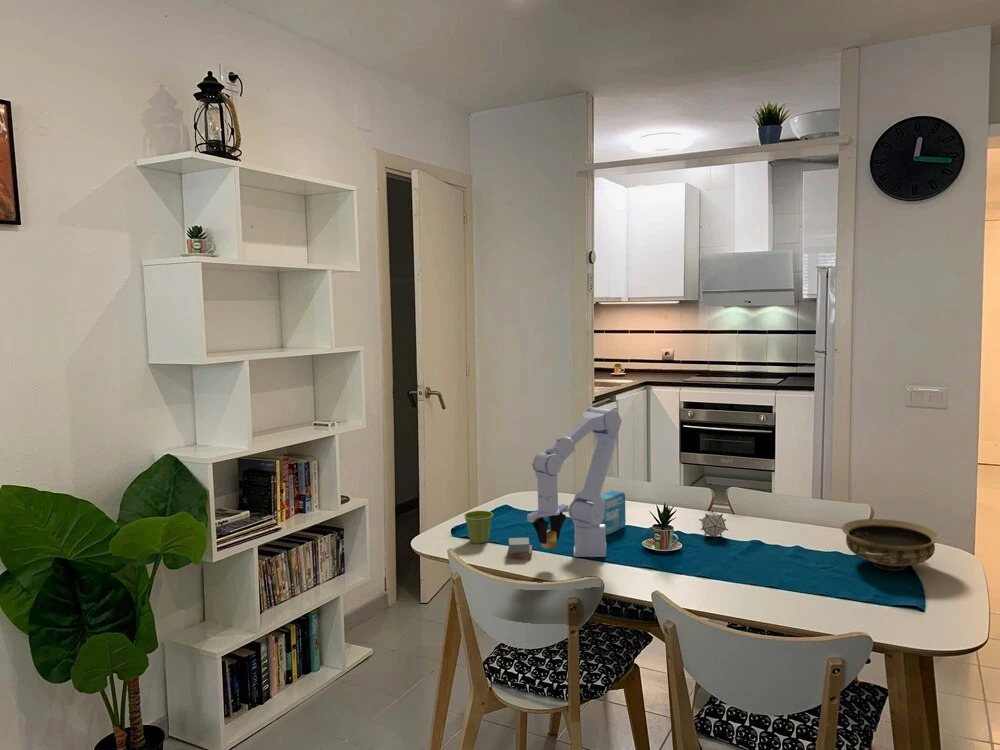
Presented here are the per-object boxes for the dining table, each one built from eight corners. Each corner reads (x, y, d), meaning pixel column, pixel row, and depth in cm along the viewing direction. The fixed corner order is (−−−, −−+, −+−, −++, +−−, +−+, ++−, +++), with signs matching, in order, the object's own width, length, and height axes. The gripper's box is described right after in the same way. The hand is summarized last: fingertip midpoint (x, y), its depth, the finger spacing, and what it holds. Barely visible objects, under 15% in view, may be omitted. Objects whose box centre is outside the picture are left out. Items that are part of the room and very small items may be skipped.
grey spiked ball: (720, 548, 239) (739, 527, 234) (699, 543, 235) (717, 521, 231) (709, 527, 246) (727, 506, 241) (688, 522, 243) (706, 500, 238)
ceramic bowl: (860, 542, 229) (861, 510, 228) (950, 559, 213) (951, 525, 212) (824, 571, 207) (825, 536, 206) (922, 593, 191) (923, 554, 190)
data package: (605, 536, 243) (604, 499, 241) (593, 533, 246) (593, 497, 244) (625, 526, 252) (625, 491, 250) (614, 524, 255) (613, 489, 253)
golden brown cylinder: (556, 543, 219) (556, 529, 219) (556, 548, 215) (556, 534, 214) (541, 543, 220) (541, 530, 219) (541, 548, 215) (540, 534, 215)
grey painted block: (528, 545, 230) (528, 537, 230) (529, 552, 224) (529, 544, 224) (509, 546, 230) (508, 538, 230) (509, 552, 224) (509, 544, 224)
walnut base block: (532, 553, 231) (532, 545, 231) (531, 561, 224) (530, 553, 224) (509, 553, 232) (509, 545, 231) (507, 561, 225) (507, 553, 224)
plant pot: (461, 545, 238) (460, 518, 237) (469, 535, 247) (468, 509, 247) (489, 546, 236) (489, 519, 235) (497, 536, 245) (496, 510, 244)
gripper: (538, 502, 208) (539, 550, 209) (575, 492, 217) (576, 538, 219) (521, 497, 213) (523, 544, 215) (558, 488, 223) (559, 532, 224)
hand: (549, 541), depth 217 cm, fingers closed on golden brown cylinder, 4 cm apart
